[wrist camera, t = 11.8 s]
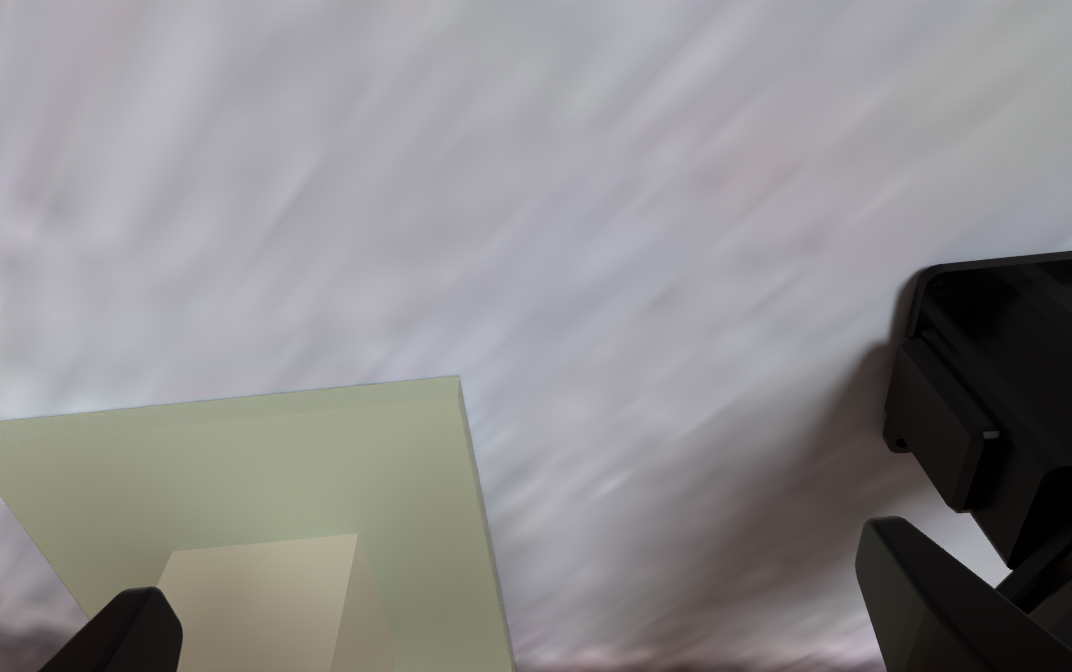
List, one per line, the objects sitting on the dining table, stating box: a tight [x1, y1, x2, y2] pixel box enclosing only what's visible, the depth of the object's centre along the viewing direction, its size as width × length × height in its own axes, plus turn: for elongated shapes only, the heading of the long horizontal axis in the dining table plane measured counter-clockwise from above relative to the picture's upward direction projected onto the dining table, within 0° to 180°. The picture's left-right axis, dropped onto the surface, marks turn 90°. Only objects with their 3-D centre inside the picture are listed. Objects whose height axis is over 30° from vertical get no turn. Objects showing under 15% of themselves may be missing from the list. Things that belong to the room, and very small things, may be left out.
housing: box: [156, 534, 396, 672], centre depth 23 cm, size 6×6×5 cm
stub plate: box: [0, 376, 516, 672], centre depth 25 cm, size 14×16×4 cm
